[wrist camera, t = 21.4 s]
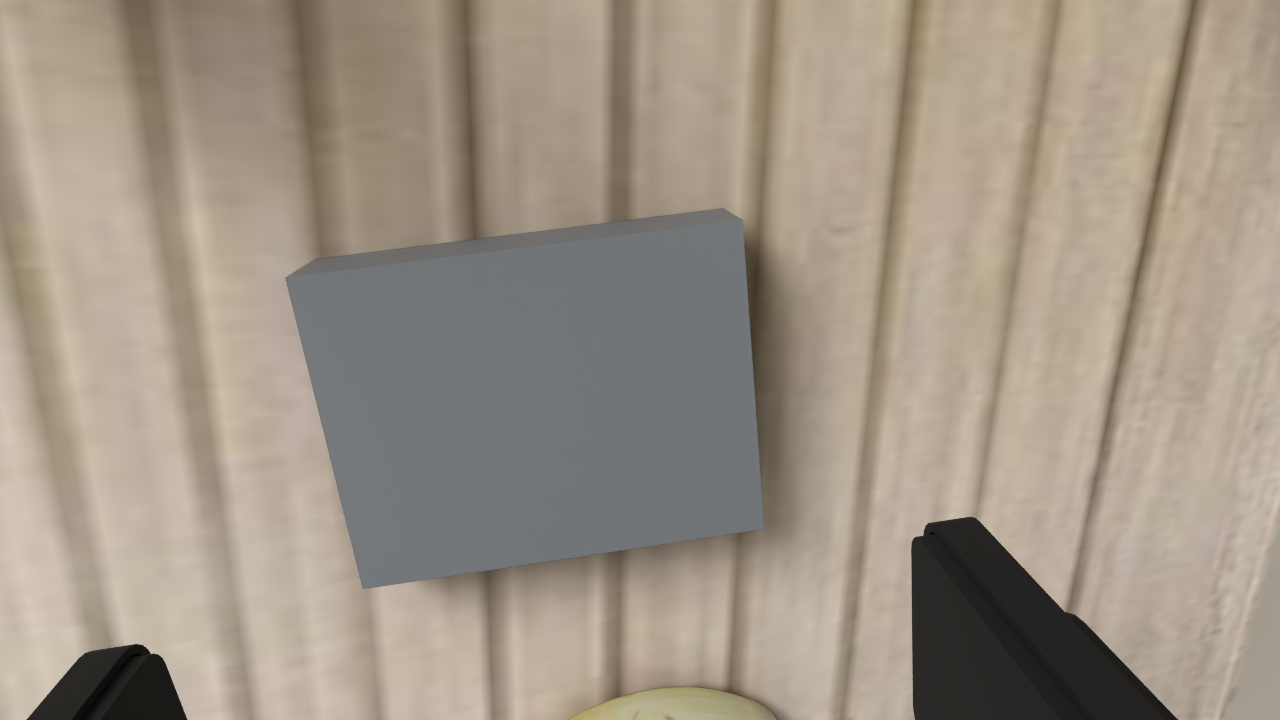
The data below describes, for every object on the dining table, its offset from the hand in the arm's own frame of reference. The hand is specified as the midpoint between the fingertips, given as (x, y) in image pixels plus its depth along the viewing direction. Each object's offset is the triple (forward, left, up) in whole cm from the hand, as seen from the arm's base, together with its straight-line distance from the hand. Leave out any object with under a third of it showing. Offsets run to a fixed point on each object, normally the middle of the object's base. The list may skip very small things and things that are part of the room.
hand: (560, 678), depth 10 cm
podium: (+1, +5, -28) cm, 28 cm away
